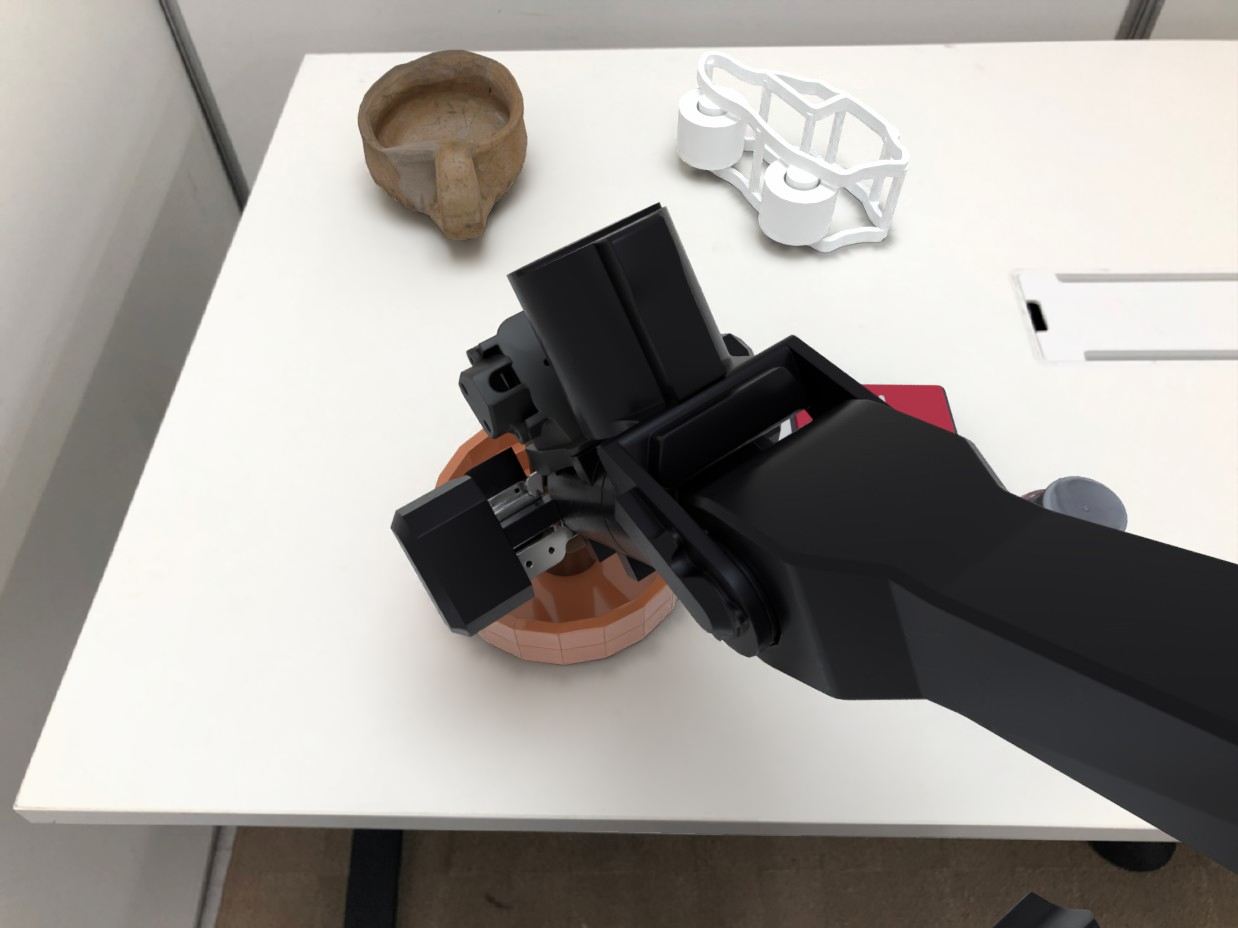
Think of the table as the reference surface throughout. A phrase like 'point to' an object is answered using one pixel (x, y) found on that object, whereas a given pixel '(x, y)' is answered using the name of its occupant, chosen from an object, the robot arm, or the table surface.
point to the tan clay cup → (445, 137)
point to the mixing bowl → (569, 593)
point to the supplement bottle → (1082, 501)
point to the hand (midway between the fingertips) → (543, 461)
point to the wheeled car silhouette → (788, 153)
